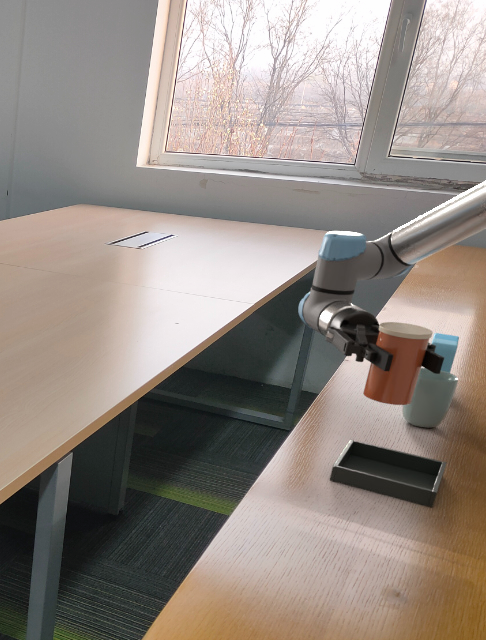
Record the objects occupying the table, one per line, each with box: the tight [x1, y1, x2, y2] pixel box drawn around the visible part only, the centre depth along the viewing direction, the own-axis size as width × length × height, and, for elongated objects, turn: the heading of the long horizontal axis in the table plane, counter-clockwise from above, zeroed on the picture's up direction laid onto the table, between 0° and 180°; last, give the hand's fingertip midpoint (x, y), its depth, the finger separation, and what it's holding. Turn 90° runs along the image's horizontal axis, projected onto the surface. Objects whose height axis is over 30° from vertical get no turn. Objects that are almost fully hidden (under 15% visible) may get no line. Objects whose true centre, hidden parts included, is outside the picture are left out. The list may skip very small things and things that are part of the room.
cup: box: [401, 367, 459, 429], centre depth 152 cm, size 8×8×10 cm
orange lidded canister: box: [362, 321, 434, 406], centre depth 132 cm, size 8×8×12 cm
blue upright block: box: [431, 332, 460, 373], centre depth 169 cm, size 12×4×12 cm, turn 146°
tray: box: [329, 439, 448, 508], centre depth 128 cm, size 14×14×3 cm
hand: (414, 364), depth 127 cm, fingers closed on orange lidded canister, 7 cm apart
